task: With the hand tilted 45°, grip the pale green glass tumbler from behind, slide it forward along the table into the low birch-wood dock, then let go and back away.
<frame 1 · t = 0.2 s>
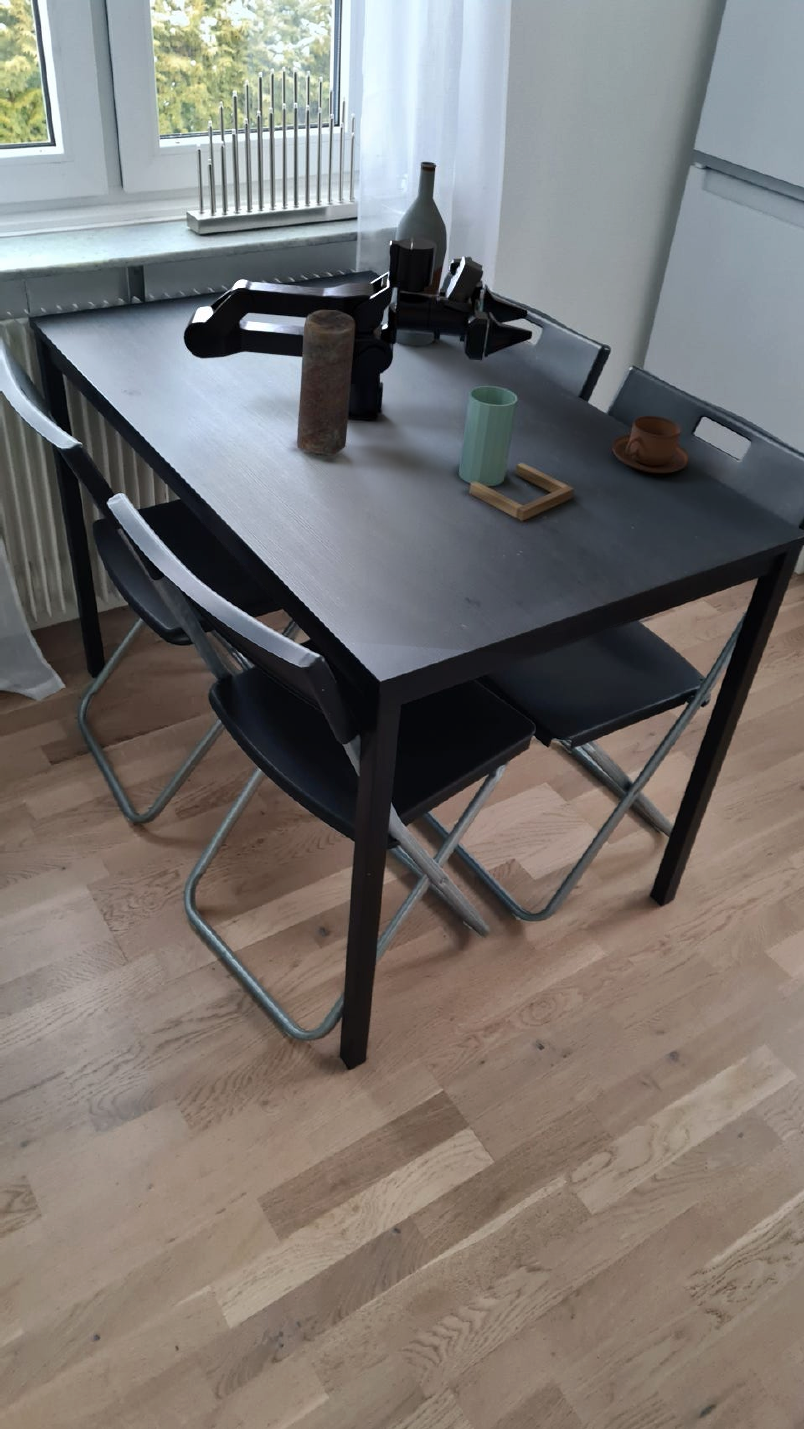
hand: (529, 324, 171), 17 cm above the table, tool horizontal, fingers open, 9 cm apart
bottle: (411, 339, 208), on the table
cup and saucer: (648, 463, 175), on the table
brown textured cylinder: (321, 451, 168), on the table
dock: (517, 493, 163), on the table
glass: (481, 475, 166), on the table
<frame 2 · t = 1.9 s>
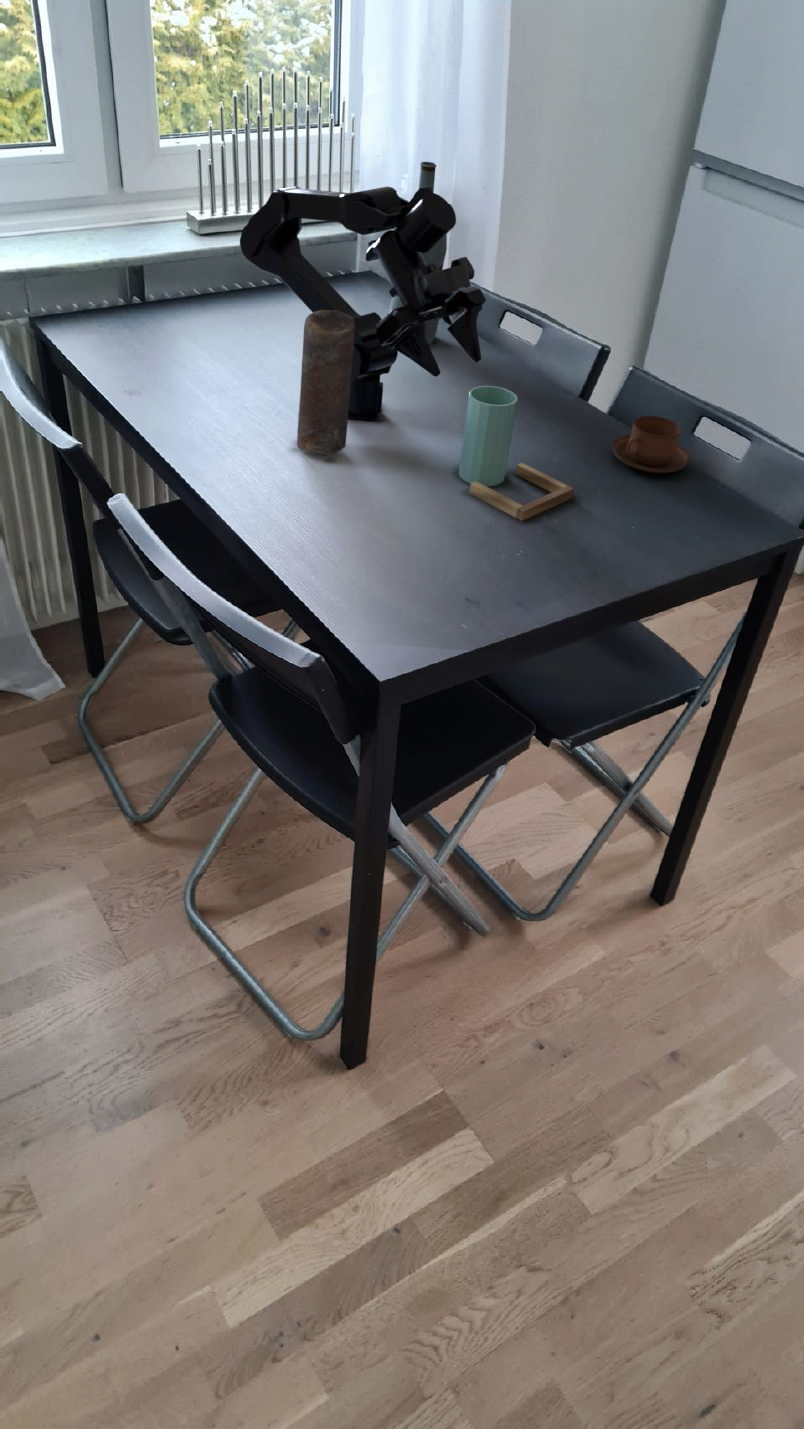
hand: (458, 368, 162), 14 cm above the table, tool tilted 45°, fingers open, 9 cm apart
nothing on the table moved.
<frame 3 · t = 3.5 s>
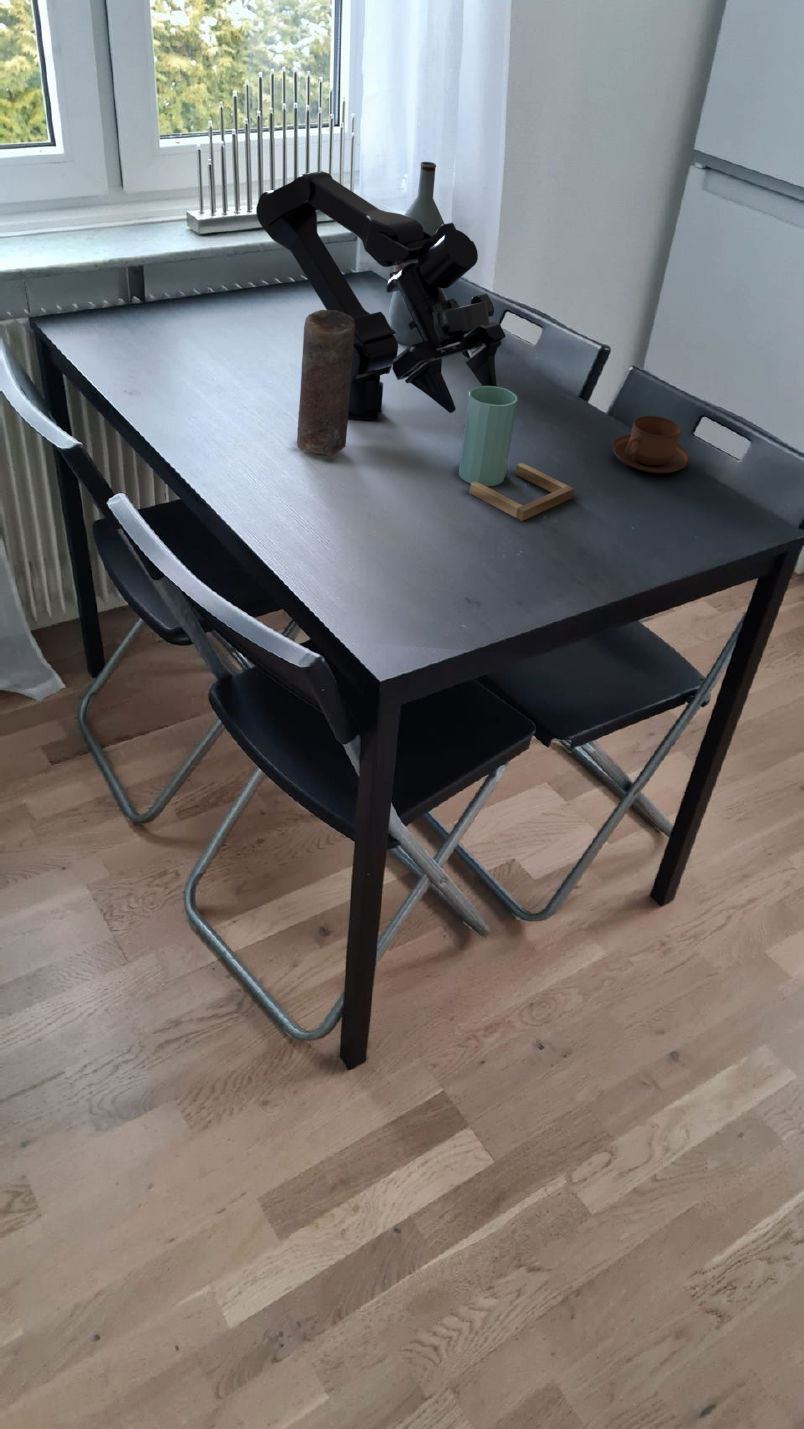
hand: (474, 404, 161), 10 cm above the table, tool tilted 45°, fingers open, 9 cm apart
nothing on the table moved.
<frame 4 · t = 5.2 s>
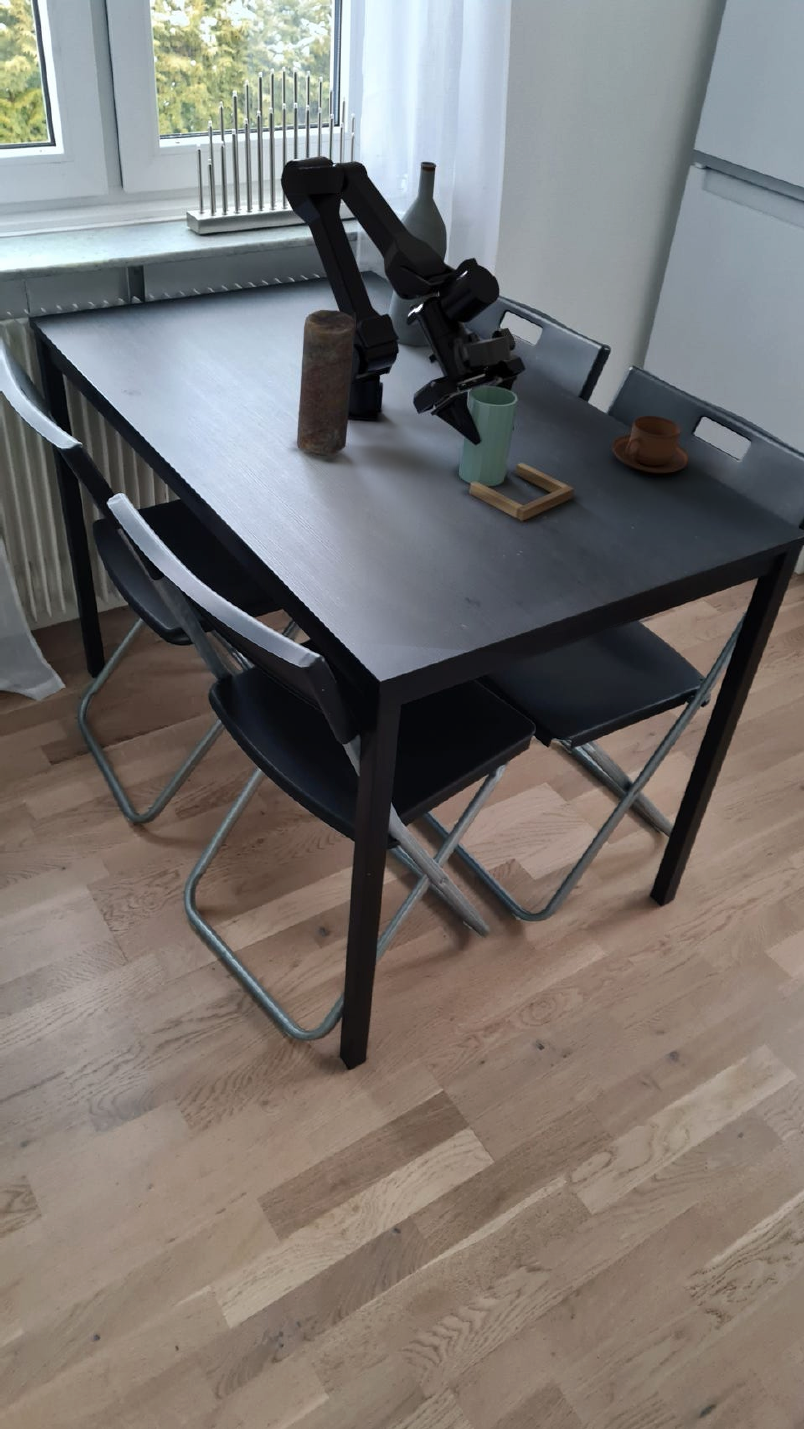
hand: (494, 437, 161), 7 cm above the table, tool tilted 45°, fingers closed on glass, 7 cm apart
glass: (481, 475, 166), on the table, touching gripper
everything else where it was.
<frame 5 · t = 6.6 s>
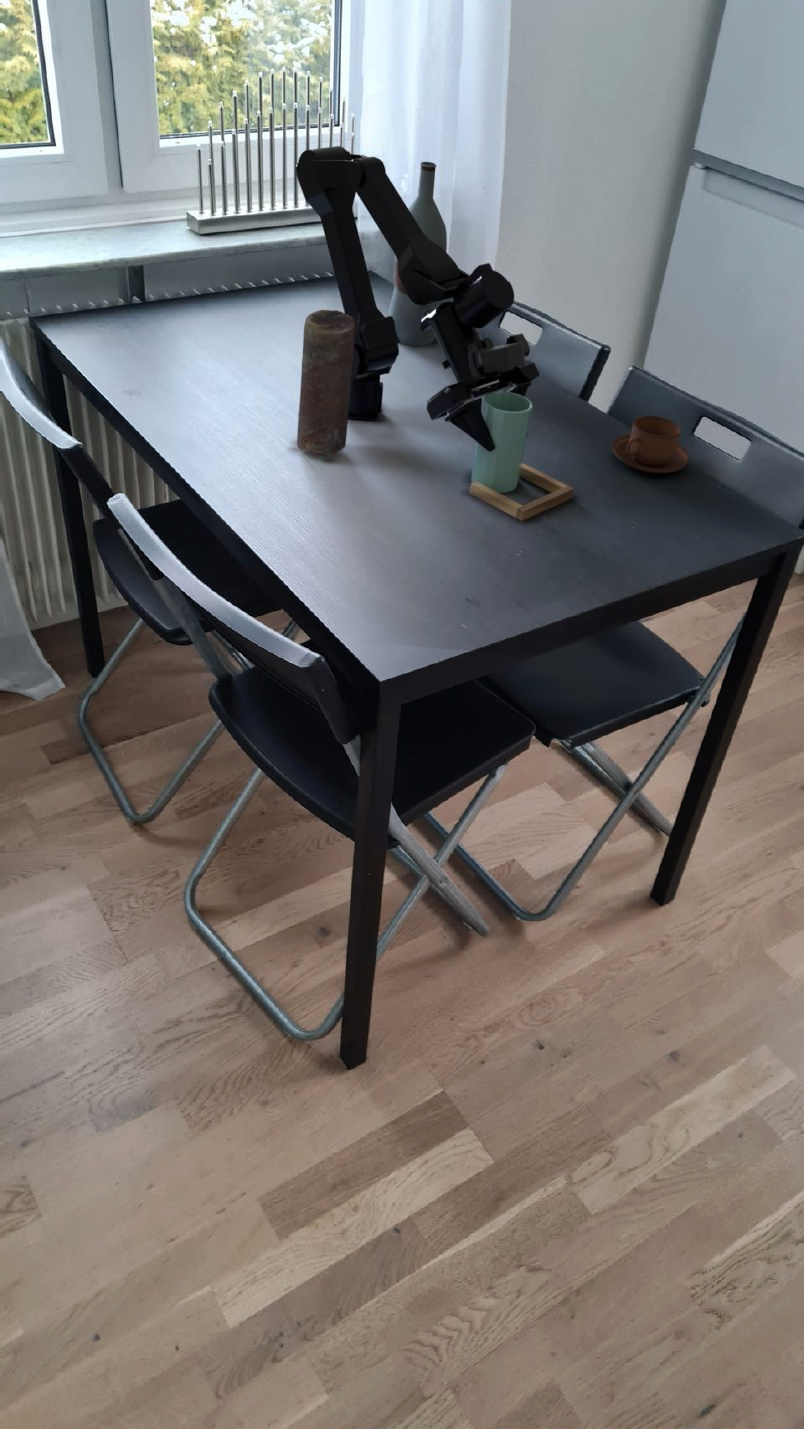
hand: (508, 444, 160), 7 cm above the table, tool tilted 45°, fingers closed on glass, 7 cm apart
glass: (494, 481, 165), on the table, touching gripper
everything else where it was.
when the fingers open (7 cm above the table, at t = 8.2 s): glass stays where it is, on the table.
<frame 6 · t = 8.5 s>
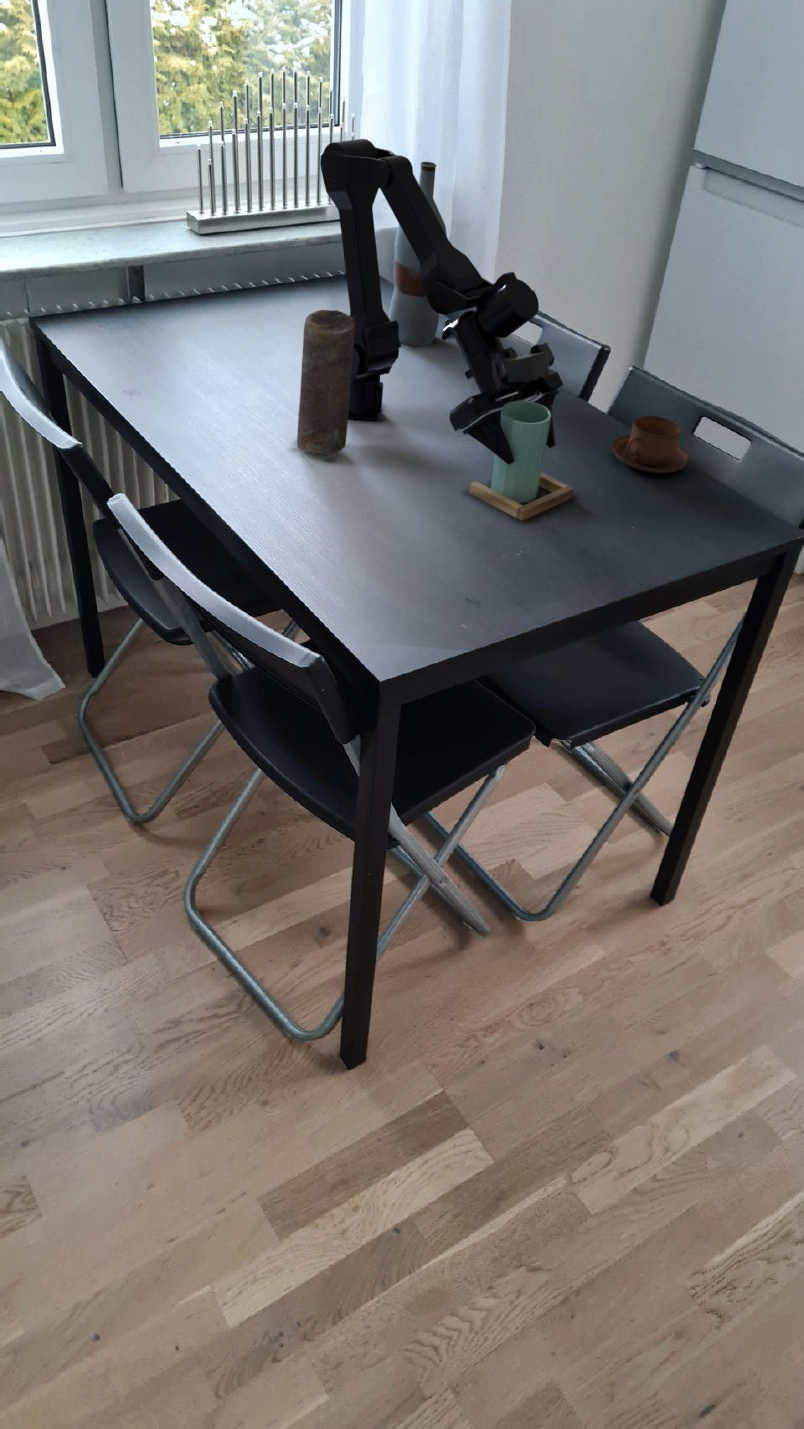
hand: (532, 455, 158), 7 cm above the table, tool tilted 45°, fingers open, 9 cm apart
glass: (513, 491, 163), on the table, touching gripper
everything else where it was.
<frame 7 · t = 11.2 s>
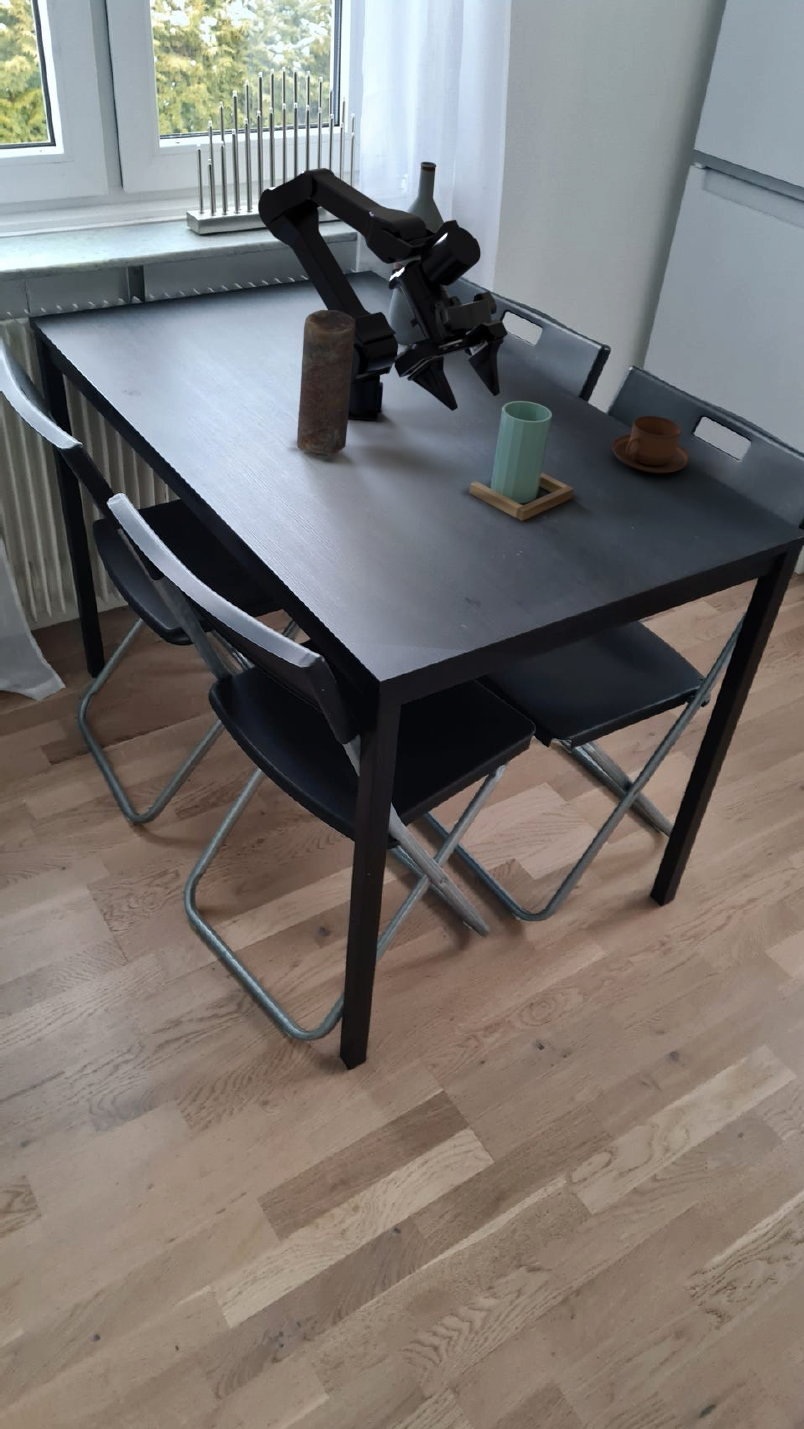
hand: (476, 402, 161), 10 cm above the table, tool tilted 45°, fingers open, 9 cm apart
glass: (513, 492, 163), on the table
everything else where it was.
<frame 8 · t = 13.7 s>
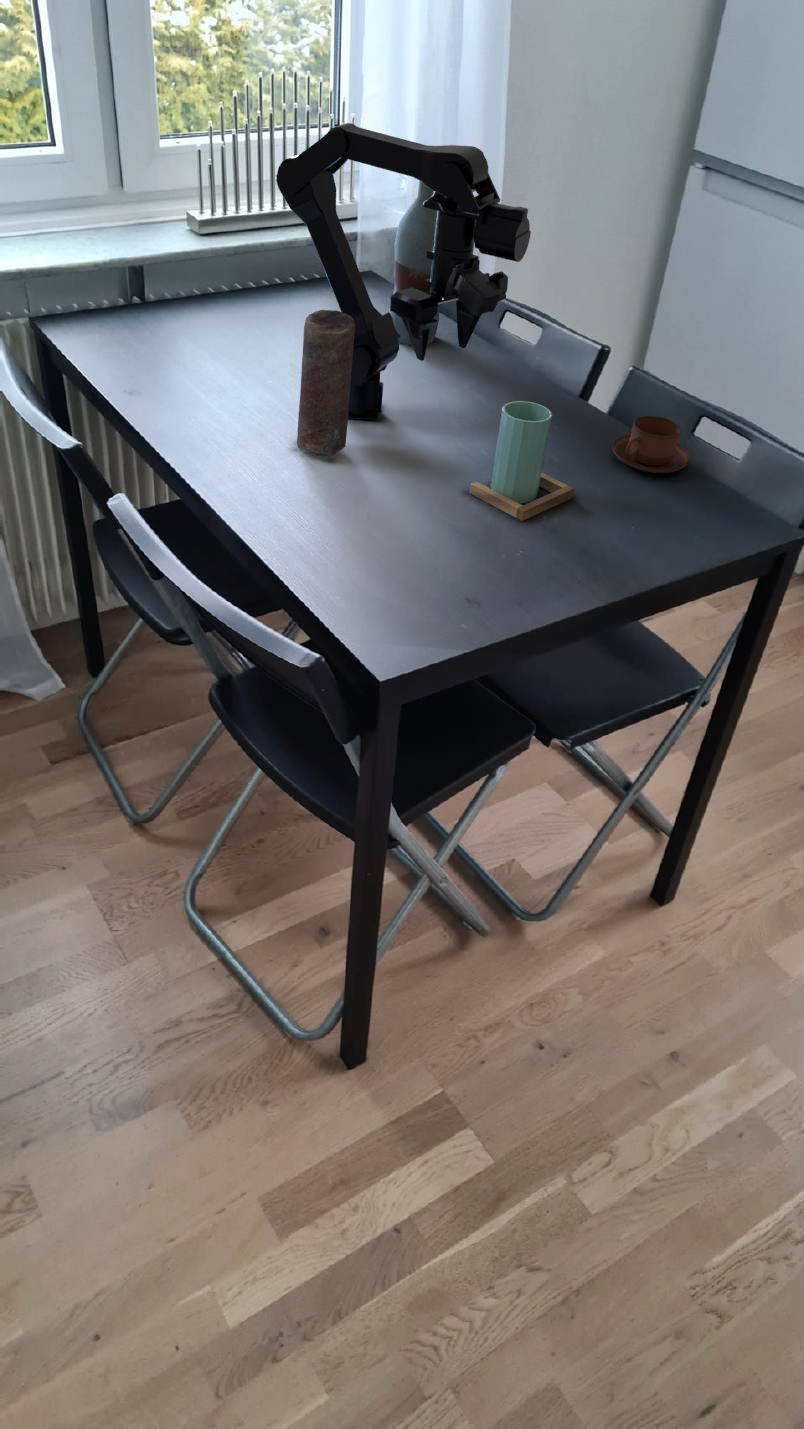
hand: (441, 353, 168), 13 cm above the table, tool pointing down, fingers open, 9 cm apart
nothing on the table moved.
at the end: glass 0.7 cm off-centre on the dock, point 0.0 cm above the dock's base; glass tilted 0°; the gripper is holding nothing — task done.
